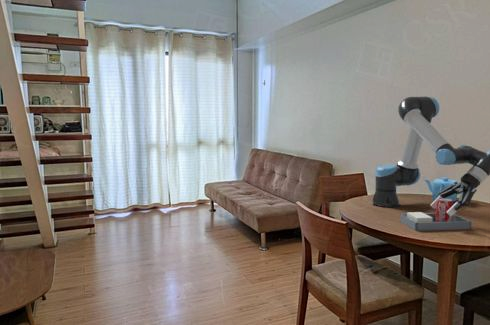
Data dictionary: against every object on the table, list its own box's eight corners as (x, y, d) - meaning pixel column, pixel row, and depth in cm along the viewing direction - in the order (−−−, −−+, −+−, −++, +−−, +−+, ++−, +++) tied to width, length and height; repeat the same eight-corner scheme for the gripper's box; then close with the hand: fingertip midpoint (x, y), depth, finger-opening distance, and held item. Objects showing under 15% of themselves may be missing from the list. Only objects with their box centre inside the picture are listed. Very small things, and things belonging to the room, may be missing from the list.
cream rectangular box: (416, 228, 161) (417, 218, 161) (406, 222, 171) (406, 212, 171) (432, 228, 162) (432, 217, 161) (421, 222, 172) (421, 212, 171)
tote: (415, 232, 159) (415, 223, 158) (399, 223, 174) (400, 214, 174) (470, 231, 159) (471, 221, 159) (450, 221, 175) (450, 212, 174)
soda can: (455, 226, 163) (456, 201, 161) (438, 226, 164) (439, 200, 163) (449, 222, 170) (450, 198, 168) (433, 221, 171) (434, 197, 170)
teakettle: (446, 197, 227) (447, 174, 225) (470, 203, 209) (471, 179, 207) (420, 199, 224) (421, 176, 222) (441, 206, 205) (442, 181, 204)
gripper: (498, 188, 152) (462, 223, 154) (462, 179, 177) (431, 209, 179) (486, 176, 152) (450, 212, 153) (452, 169, 176) (421, 199, 178)
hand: (440, 210), depth 166 cm, fingers open, 13 cm apart
